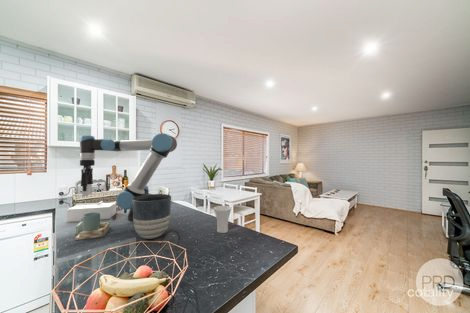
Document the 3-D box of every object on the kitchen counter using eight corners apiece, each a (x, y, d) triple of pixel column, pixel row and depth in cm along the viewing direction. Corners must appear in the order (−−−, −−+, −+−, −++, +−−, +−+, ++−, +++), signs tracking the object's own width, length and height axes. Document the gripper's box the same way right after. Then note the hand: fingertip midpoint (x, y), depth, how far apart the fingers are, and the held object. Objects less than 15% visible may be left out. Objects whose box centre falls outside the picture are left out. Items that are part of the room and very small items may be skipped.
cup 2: (234, 229, 115) (234, 206, 115) (226, 235, 106) (226, 211, 106) (219, 226, 120) (219, 205, 120) (210, 232, 110) (210, 209, 110)
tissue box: (109, 219, 136) (109, 203, 136) (67, 222, 129) (67, 206, 129) (116, 213, 150) (116, 199, 150) (78, 216, 143) (78, 201, 143)
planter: (178, 232, 110) (178, 195, 111) (153, 247, 92) (153, 202, 92) (151, 228, 117) (151, 193, 117) (123, 241, 98) (123, 199, 99)
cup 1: (91, 234, 105) (91, 216, 105) (79, 233, 106) (79, 215, 106) (103, 229, 112) (103, 212, 112) (92, 228, 114) (92, 211, 114)
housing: (109, 227, 118) (109, 222, 118) (104, 236, 105) (104, 229, 105) (83, 230, 113) (83, 224, 113) (74, 240, 100) (74, 233, 100)
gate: (85, 226, 119) (85, 217, 119) (78, 233, 108) (78, 223, 108) (82, 227, 119) (82, 217, 119) (75, 234, 108) (75, 223, 108)
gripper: (85, 159, 132) (85, 193, 131) (74, 159, 113) (73, 198, 113) (98, 159, 135) (98, 192, 134) (89, 159, 116) (89, 197, 116)
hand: (87, 195), depth 124 cm, fingers open, 7 cm apart
